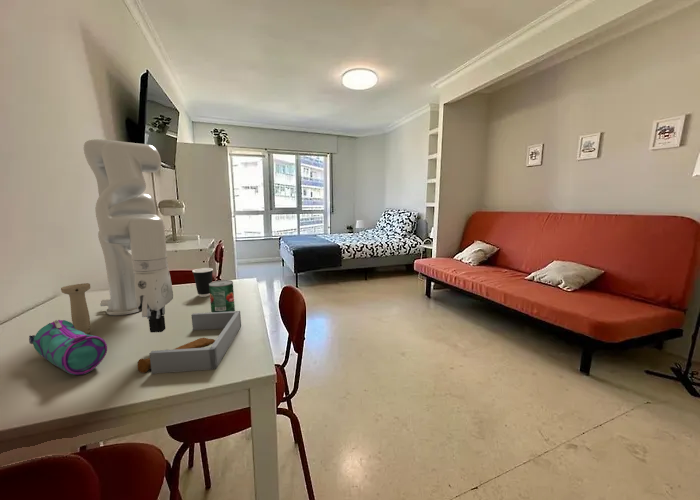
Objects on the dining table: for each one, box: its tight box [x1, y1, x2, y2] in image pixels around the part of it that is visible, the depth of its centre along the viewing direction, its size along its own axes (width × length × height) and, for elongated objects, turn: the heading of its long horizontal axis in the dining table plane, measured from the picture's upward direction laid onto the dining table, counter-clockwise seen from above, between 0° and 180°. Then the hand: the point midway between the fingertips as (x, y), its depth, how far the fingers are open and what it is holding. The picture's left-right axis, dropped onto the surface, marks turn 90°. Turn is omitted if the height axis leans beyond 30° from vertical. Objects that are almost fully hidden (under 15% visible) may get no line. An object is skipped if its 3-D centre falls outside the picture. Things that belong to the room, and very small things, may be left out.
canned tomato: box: [209, 279, 236, 312], centre depth 108 cm, size 8×8×11 cm
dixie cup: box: [192, 267, 214, 298], centre depth 129 cm, size 8×8×11 cm
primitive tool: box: [137, 337, 216, 374], centre depth 79 cm, size 19×6×4 cm, turn 156°
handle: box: [60, 282, 91, 335], centre depth 90 cm, size 5×6×15 cm
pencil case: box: [28, 319, 108, 376], centre depth 74 cm, size 21×9×10 cm, turn 60°
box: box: [149, 310, 242, 374], centre depth 83 cm, size 14×25×5 cm, turn 7°
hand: (157, 330), depth 82 cm, fingers closed
